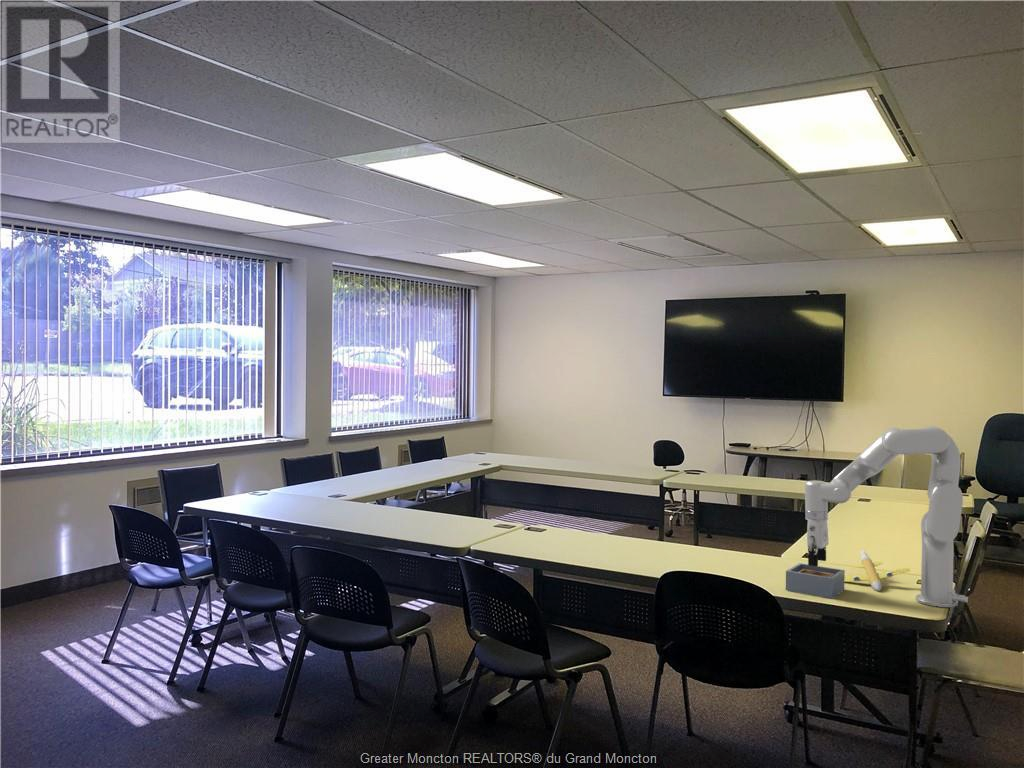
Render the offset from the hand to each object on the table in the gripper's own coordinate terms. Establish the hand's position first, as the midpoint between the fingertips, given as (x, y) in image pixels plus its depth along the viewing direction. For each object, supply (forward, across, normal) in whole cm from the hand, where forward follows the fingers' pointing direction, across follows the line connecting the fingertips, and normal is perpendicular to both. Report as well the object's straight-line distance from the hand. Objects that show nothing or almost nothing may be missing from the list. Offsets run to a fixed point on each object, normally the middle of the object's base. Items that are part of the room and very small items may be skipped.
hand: (817, 563), depth 278 cm
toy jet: (+11, +23, -12) cm, 28 cm away
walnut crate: (+9, 0, +1) cm, 9 cm away
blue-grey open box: (+10, 0, +1) cm, 10 cm away
